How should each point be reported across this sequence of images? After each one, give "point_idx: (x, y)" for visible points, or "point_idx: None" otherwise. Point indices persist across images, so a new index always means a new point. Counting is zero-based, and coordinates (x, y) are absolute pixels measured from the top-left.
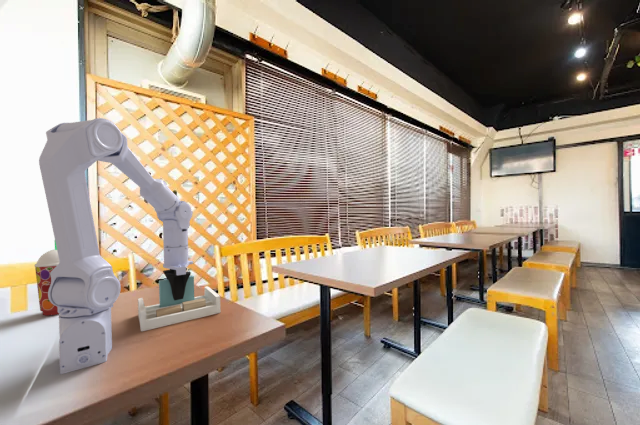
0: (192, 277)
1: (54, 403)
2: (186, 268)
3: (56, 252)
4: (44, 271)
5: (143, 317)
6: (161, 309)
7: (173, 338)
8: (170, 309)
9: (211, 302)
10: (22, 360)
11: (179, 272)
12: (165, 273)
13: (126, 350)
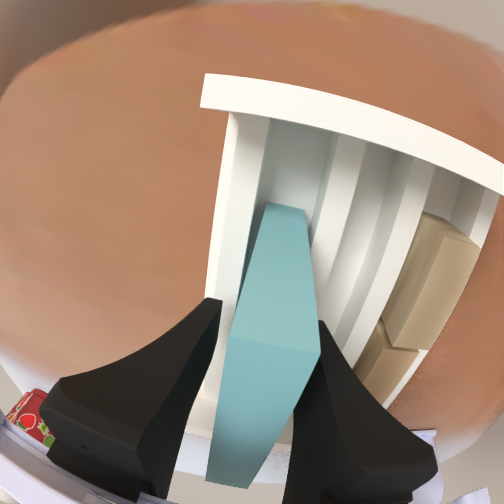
0: (316, 357)
1: (449, 451)
2: (140, 448)
3: (6, 502)
4: None
5: None
6: None
7: (467, 351)
8: (397, 383)
9: (432, 168)
10: (281, 478)
11: None
12: (167, 492)
13: (412, 418)
